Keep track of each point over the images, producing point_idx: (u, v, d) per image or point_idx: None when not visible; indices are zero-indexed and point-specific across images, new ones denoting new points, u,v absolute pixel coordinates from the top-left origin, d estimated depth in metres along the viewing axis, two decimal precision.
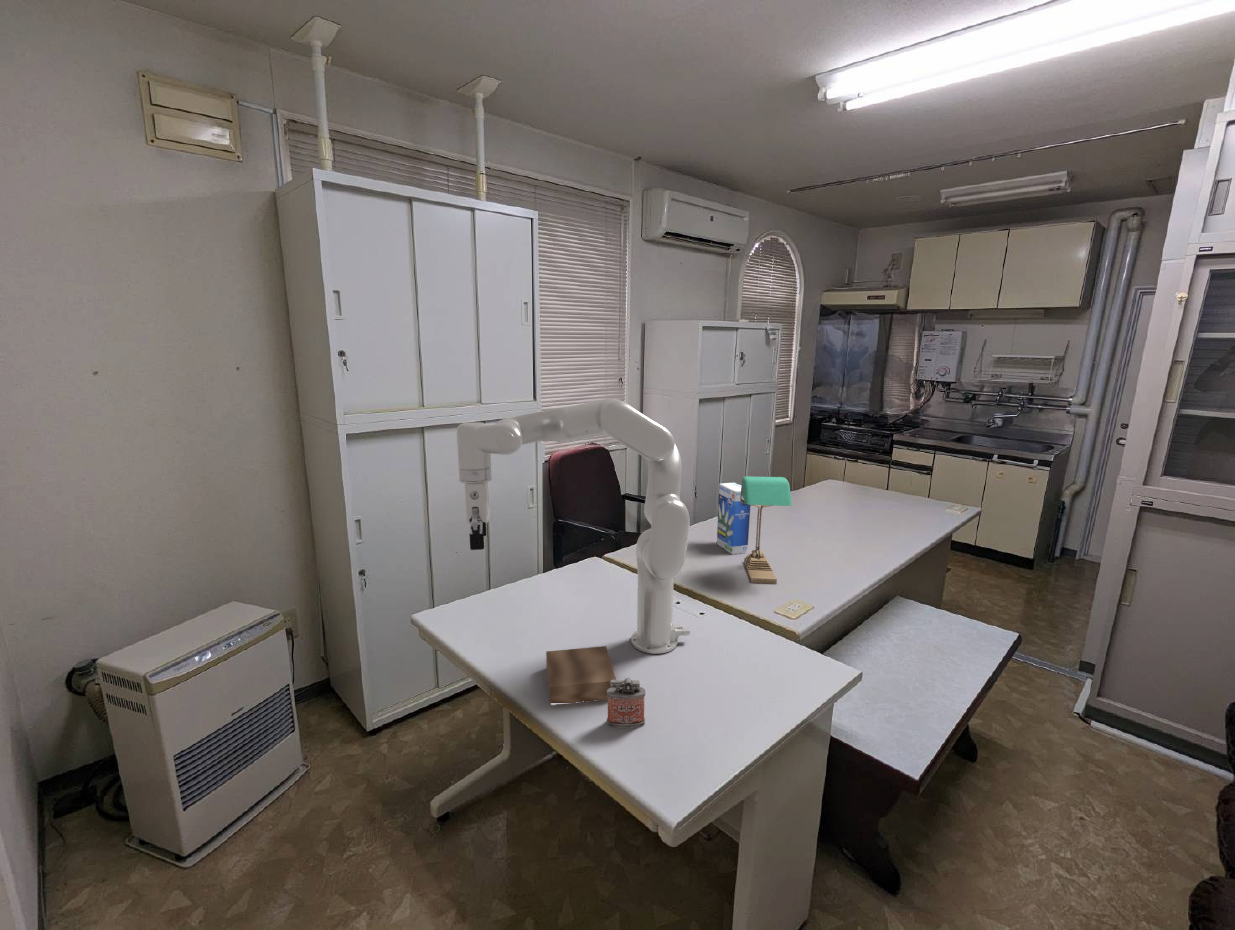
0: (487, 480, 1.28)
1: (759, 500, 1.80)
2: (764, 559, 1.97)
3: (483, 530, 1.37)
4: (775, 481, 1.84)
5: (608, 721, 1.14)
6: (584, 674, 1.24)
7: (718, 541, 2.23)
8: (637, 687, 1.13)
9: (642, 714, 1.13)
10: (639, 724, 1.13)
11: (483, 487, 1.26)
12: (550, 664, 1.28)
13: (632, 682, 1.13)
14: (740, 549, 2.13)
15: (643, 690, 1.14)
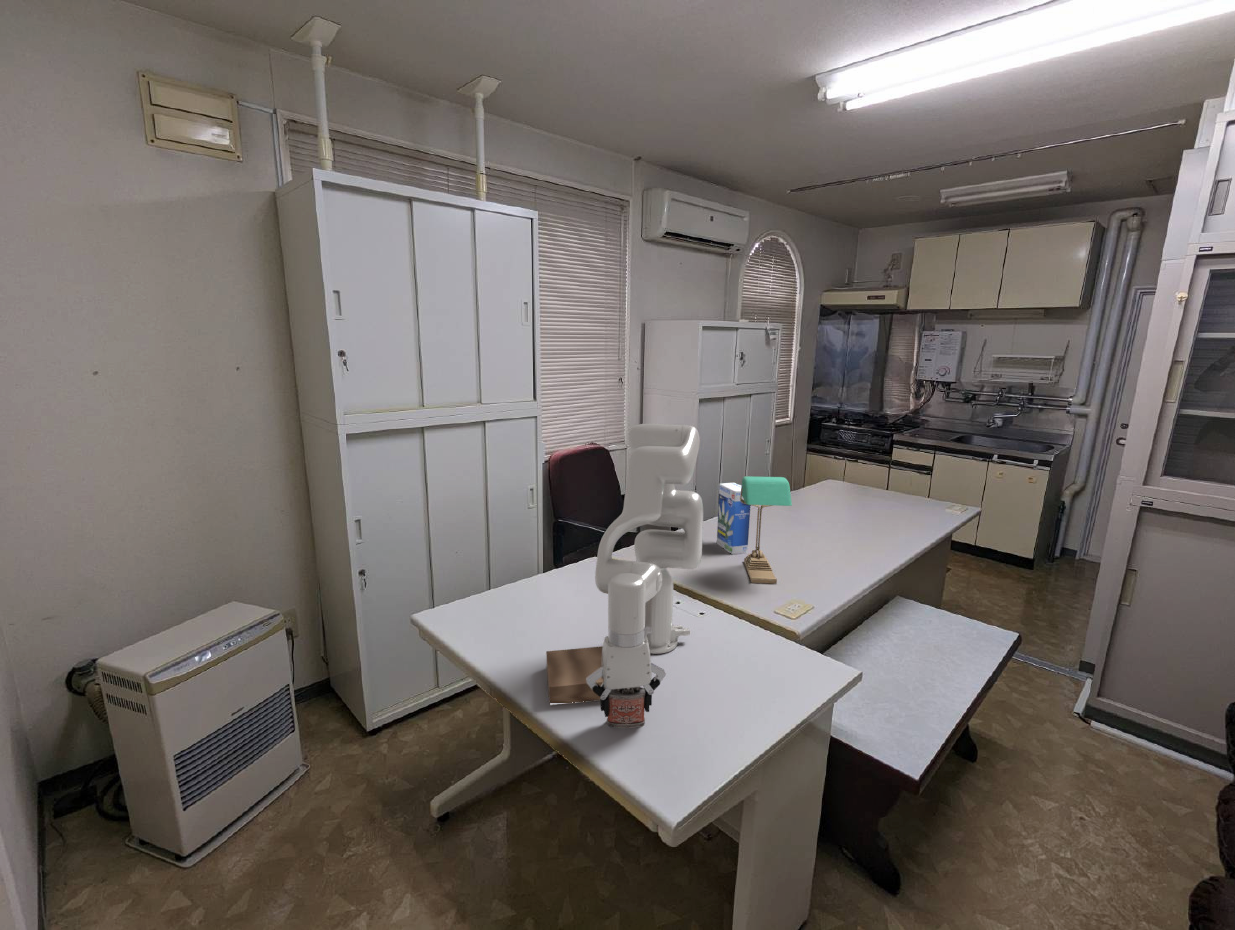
0: None
1: (759, 500, 1.80)
2: (764, 559, 1.97)
3: None
4: (775, 481, 1.84)
5: (608, 721, 1.14)
6: (584, 674, 1.24)
7: (718, 541, 2.23)
8: (637, 687, 1.13)
9: (642, 714, 1.13)
10: (639, 724, 1.13)
11: None
12: (550, 664, 1.28)
13: None
14: (740, 549, 2.13)
15: (643, 690, 1.14)
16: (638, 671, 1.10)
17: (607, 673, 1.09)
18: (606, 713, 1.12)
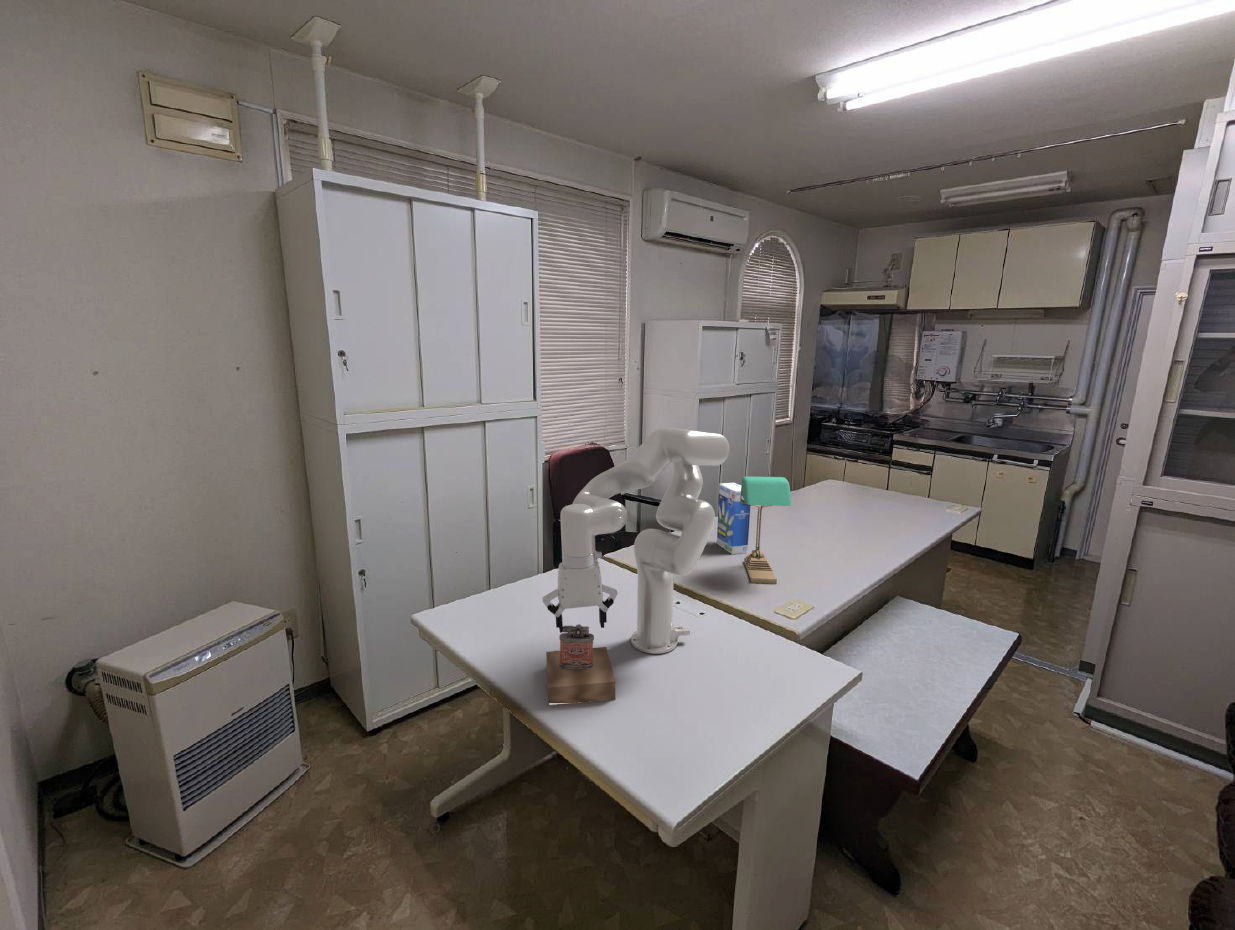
0: None
1: (759, 500, 1.80)
2: (764, 559, 1.97)
3: None
4: (775, 481, 1.84)
5: (560, 663, 1.27)
6: (583, 674, 1.24)
7: (718, 541, 2.23)
8: (586, 632, 1.26)
9: (590, 657, 1.27)
10: (587, 666, 1.27)
11: None
12: (550, 664, 1.28)
13: (582, 628, 1.26)
14: (740, 549, 2.13)
15: (592, 636, 1.27)
16: (590, 591, 1.22)
17: (562, 593, 1.22)
18: (560, 629, 1.24)
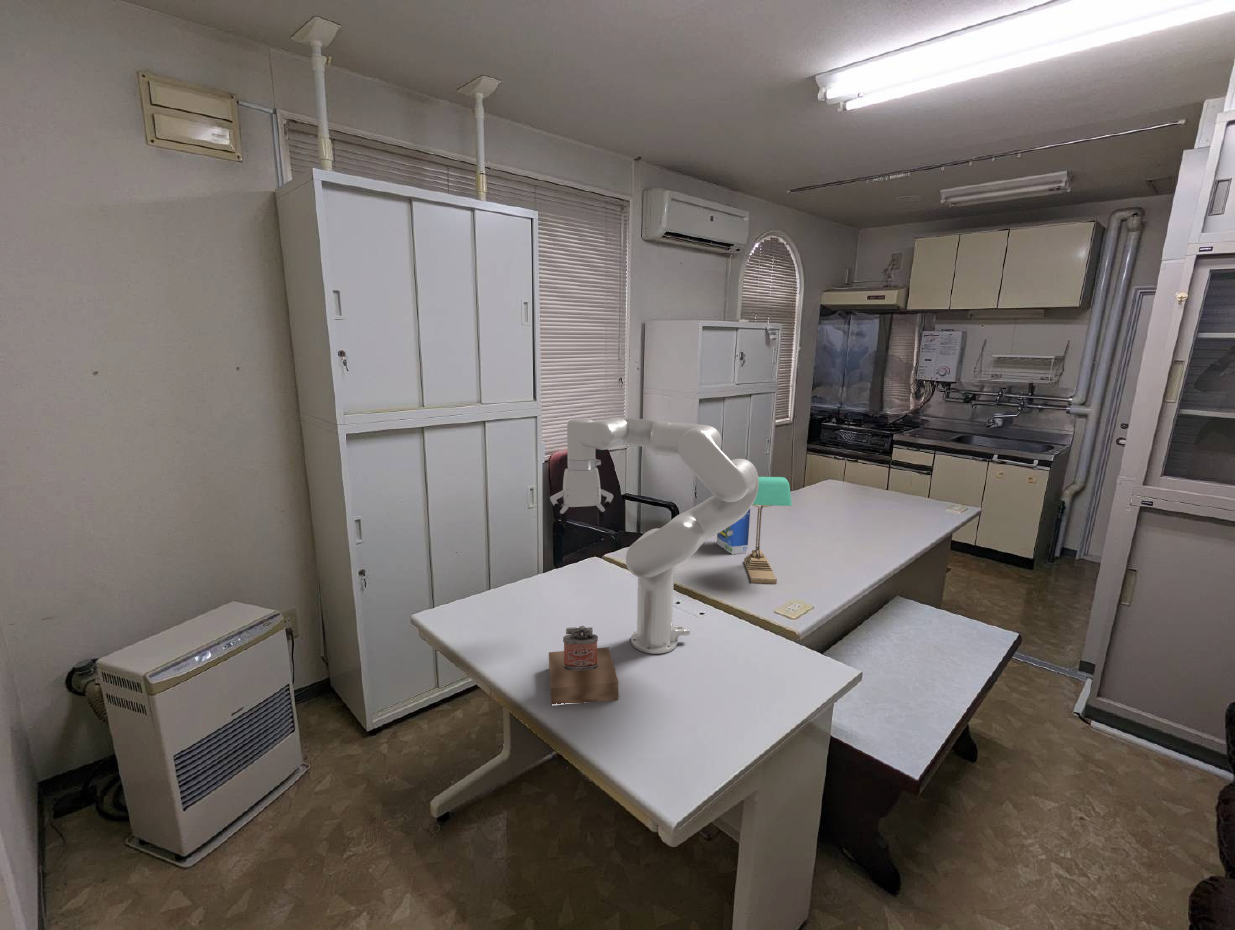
0: None
1: (759, 500, 1.80)
2: (764, 559, 1.97)
3: None
4: (775, 481, 1.84)
5: (564, 665, 1.27)
6: (586, 675, 1.24)
7: (718, 541, 2.23)
8: (590, 633, 1.25)
9: (595, 658, 1.26)
10: (592, 667, 1.26)
11: None
12: (553, 665, 1.28)
13: (585, 629, 1.25)
14: (740, 549, 2.13)
15: (596, 636, 1.26)
16: (590, 492, 1.46)
17: (566, 492, 1.45)
18: (564, 524, 1.47)
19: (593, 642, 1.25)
